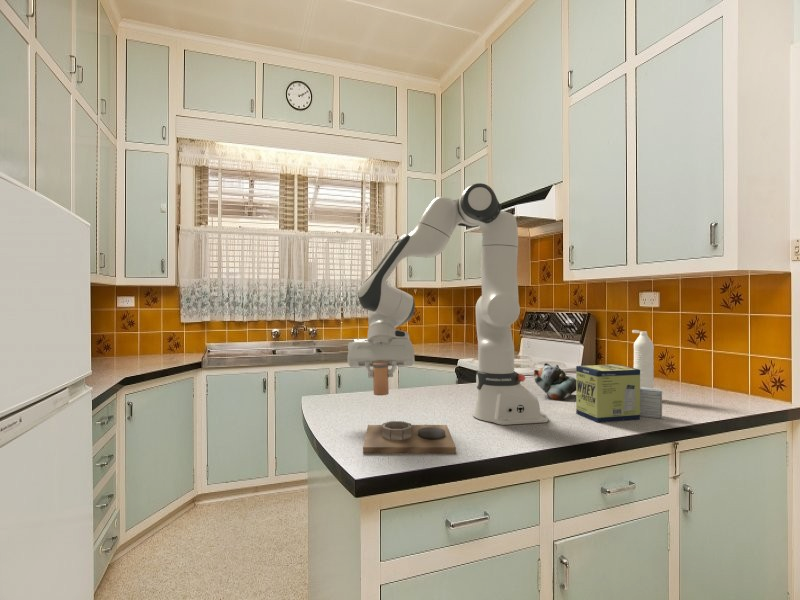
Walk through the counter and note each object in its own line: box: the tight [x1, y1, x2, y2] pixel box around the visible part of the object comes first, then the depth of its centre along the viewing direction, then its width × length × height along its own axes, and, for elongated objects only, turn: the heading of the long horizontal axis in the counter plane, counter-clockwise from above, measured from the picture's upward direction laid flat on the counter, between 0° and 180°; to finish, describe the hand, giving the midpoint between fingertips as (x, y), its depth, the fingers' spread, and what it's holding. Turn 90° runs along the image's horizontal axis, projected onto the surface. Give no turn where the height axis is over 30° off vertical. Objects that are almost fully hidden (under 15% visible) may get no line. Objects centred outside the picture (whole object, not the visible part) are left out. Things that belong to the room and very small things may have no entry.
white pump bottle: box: [631, 329, 655, 388], centre depth 160 cm, size 9×6×25 cm
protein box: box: [575, 363, 641, 424], centre depth 134 cm, size 10×16×16 cm
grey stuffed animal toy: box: [533, 362, 576, 401], centre depth 163 cm, size 15×12×14 cm
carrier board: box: [362, 420, 457, 455], centre depth 111 cm, size 22×18×4 cm
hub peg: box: [372, 362, 390, 396], centre depth 126 cm, size 4×4×9 cm
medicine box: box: [640, 387, 663, 419], centre depth 135 cm, size 8×4×9 cm, turn 65°
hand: (380, 376), depth 125 cm, fingers closed on hub peg, 4 cm apart
